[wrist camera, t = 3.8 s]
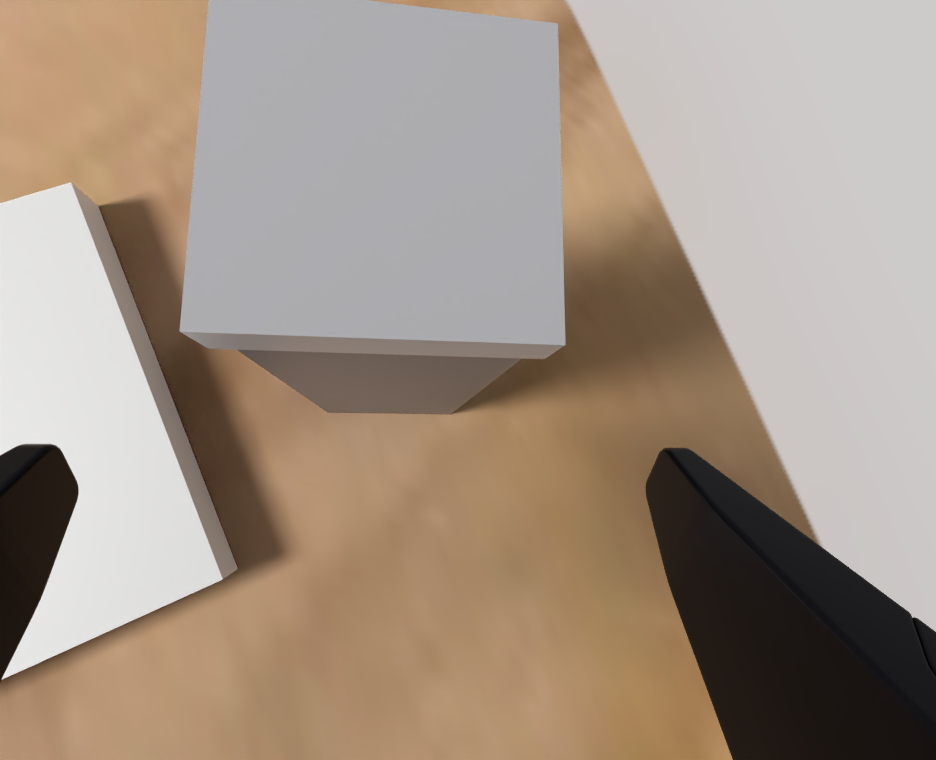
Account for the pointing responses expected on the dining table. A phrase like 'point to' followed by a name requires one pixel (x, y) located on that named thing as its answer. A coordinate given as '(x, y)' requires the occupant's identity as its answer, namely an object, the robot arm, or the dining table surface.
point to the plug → (377, 199)
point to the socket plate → (97, 428)
